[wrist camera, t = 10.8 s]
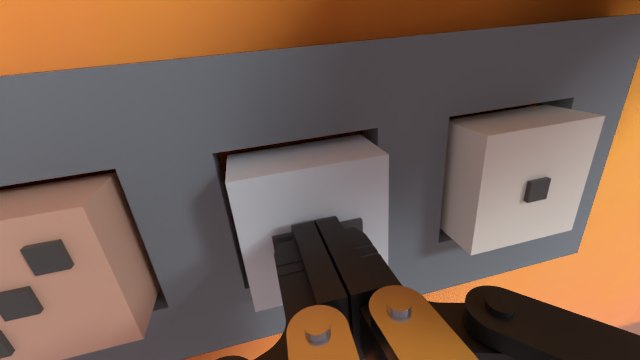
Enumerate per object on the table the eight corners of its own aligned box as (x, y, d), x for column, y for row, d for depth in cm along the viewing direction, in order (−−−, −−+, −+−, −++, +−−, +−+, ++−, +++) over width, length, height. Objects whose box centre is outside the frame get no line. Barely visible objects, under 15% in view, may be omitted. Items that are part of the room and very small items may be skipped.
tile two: (360, 134, 12) (391, 156, 10) (363, 241, 15) (390, 281, 12) (227, 155, 11) (225, 185, 9) (252, 267, 14) (255, 316, 11)
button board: (610, 16, 14) (653, 12, 13) (551, 237, 19) (577, 252, 18) (-267, 102, 8) (-369, 113, 7) (-26, 383, 13) (-57, 424, 12)
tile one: (545, 104, 14) (611, 116, 12) (523, 203, 16) (575, 232, 14) (443, 120, 13) (492, 137, 11) (435, 224, 15) (474, 258, 13)
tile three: (115, 172, 11) (79, 209, 8) (160, 286, 13) (142, 343, 10) (-64, 200, 10) (-166, 252, 7) (16, 319, 12) (-41, 390, 9)
